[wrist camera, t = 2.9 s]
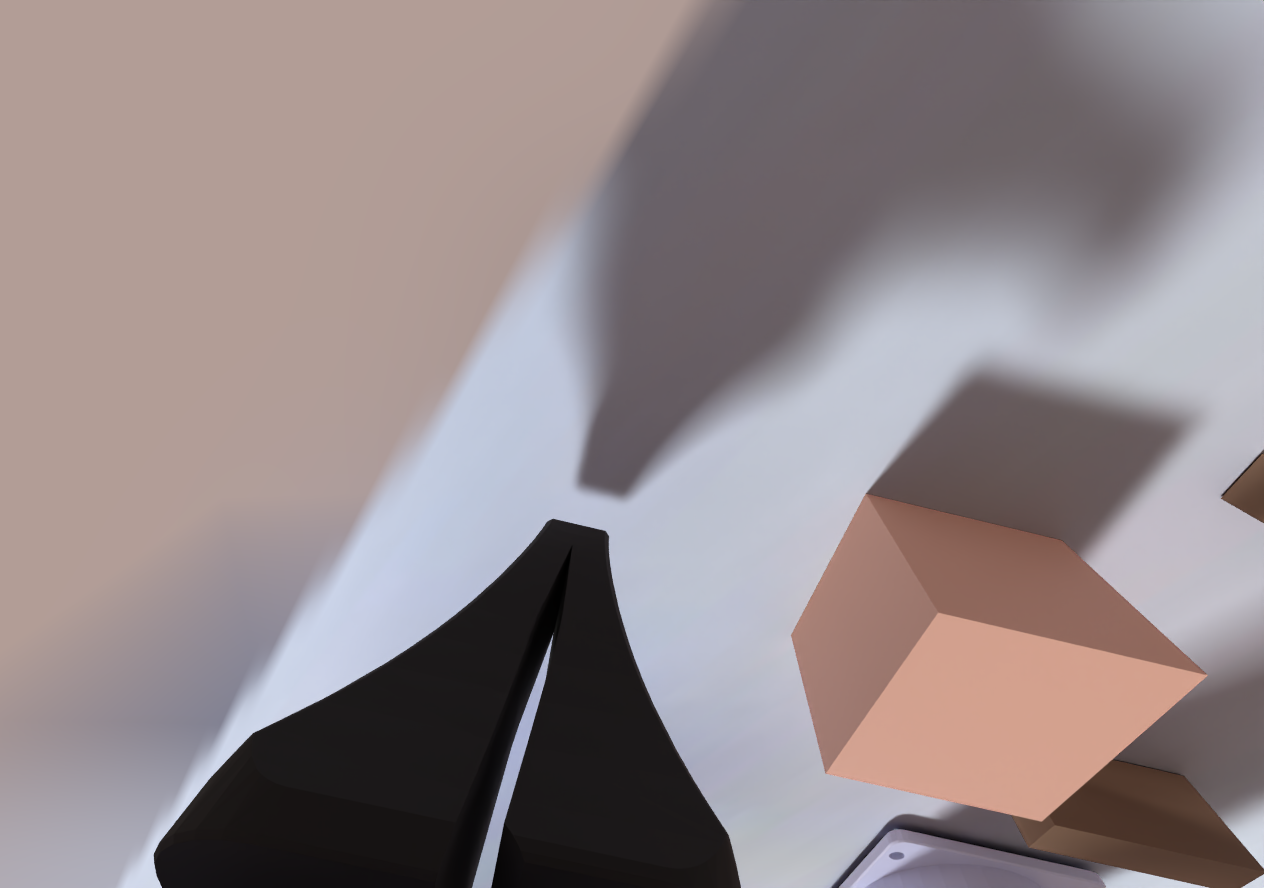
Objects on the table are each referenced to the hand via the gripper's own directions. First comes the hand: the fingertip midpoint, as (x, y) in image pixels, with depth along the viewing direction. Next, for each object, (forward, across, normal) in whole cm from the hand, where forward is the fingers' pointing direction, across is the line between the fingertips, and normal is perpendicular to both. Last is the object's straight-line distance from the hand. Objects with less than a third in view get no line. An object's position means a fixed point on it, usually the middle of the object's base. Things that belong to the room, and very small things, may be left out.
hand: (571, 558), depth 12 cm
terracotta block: (+2, -9, 0) cm, 9 cm away
